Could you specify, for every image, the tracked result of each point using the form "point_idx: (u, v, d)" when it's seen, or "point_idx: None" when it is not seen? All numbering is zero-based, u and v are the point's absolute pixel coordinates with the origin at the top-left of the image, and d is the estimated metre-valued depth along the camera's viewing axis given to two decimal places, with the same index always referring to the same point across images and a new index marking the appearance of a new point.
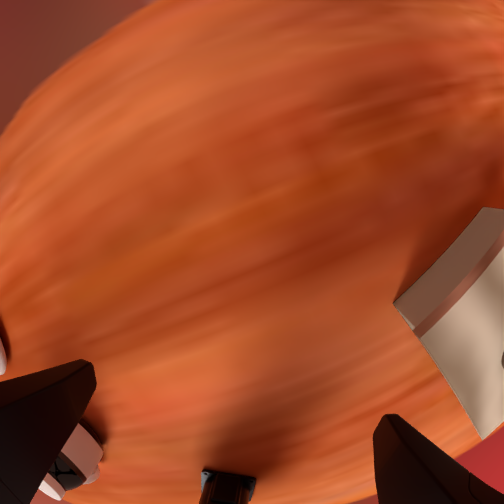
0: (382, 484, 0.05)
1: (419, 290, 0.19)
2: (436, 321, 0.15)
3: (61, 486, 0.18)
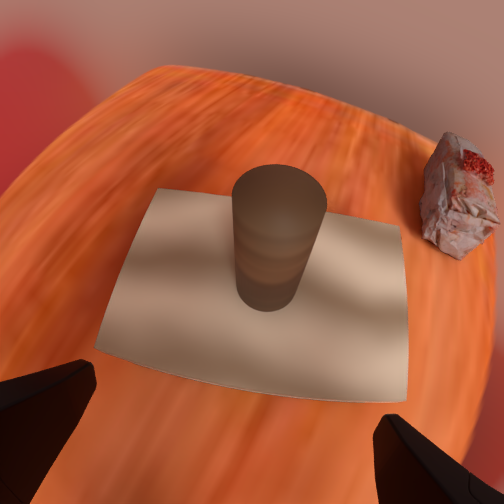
0: (382, 484, 0.05)
1: None
2: (102, 325, 0.15)
3: None
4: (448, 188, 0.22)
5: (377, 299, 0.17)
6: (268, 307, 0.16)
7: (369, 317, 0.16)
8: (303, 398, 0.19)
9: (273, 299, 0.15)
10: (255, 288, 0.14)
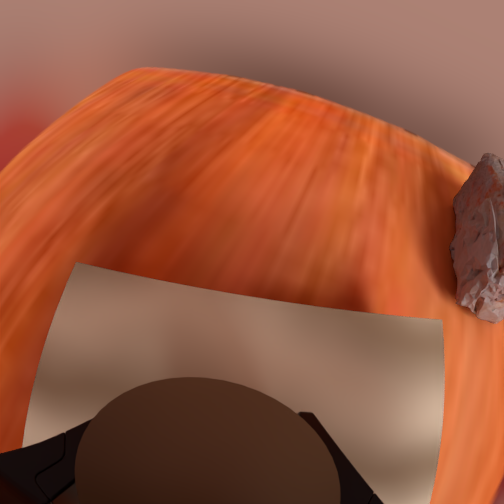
0: None
1: None
2: None
3: None
4: (500, 241, 0.14)
5: (400, 451, 0.08)
6: None
7: (384, 479, 0.08)
8: None
9: None
10: None
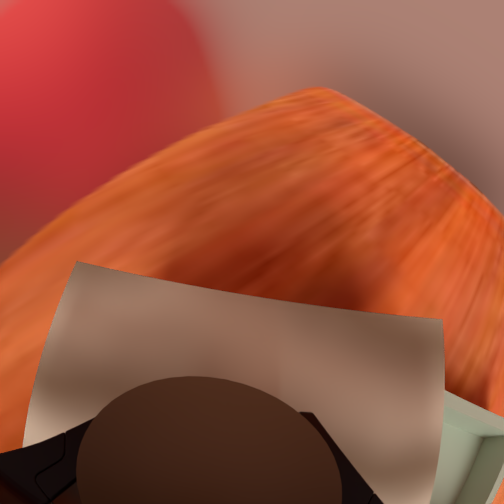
0: None
1: None
2: None
3: None
4: None
5: (400, 451, 0.08)
6: None
7: (384, 478, 0.08)
8: None
9: None
10: None
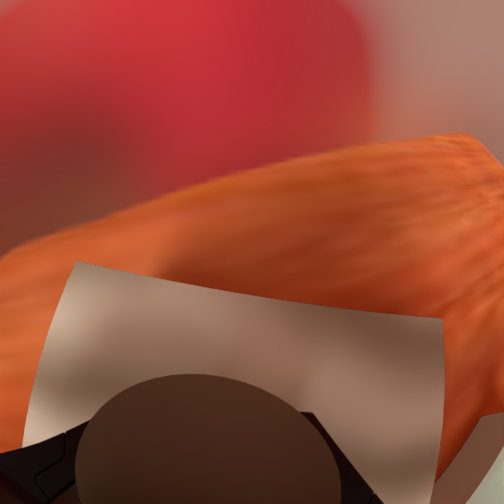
0: None
1: None
2: None
3: None
4: None
5: (400, 450, 0.08)
6: None
7: (384, 478, 0.08)
8: None
9: None
10: None
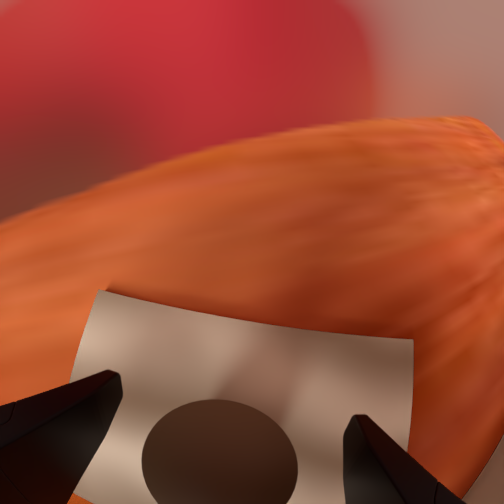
0: (349, 487, 0.05)
1: None
2: None
3: None
4: None
5: None
6: None
7: None
8: None
9: None
10: None
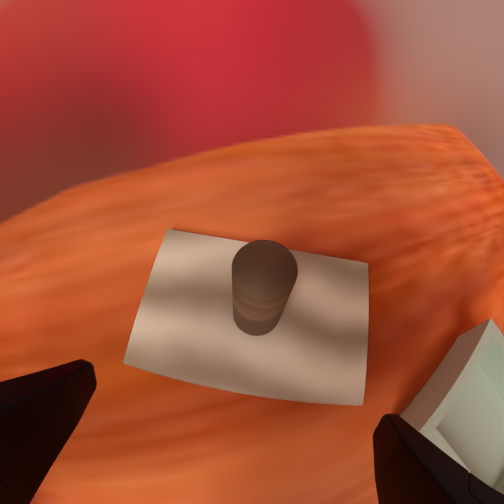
0: (382, 484, 0.05)
1: (411, 410, 0.17)
2: None
3: None
4: None
5: (343, 326, 0.22)
6: (257, 333, 0.21)
7: (335, 340, 0.21)
8: None
9: (260, 329, 0.20)
10: (247, 322, 0.19)
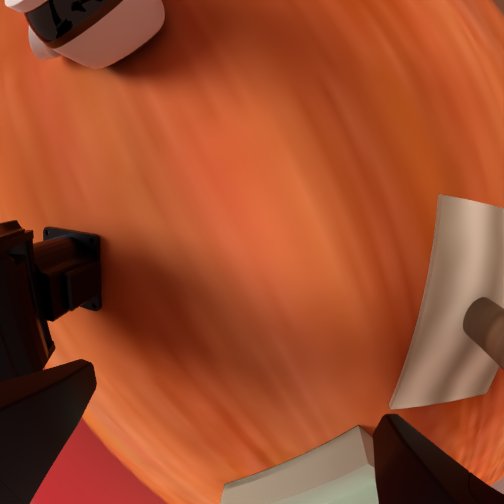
0: (382, 484, 0.05)
1: (371, 443, 0.21)
2: (456, 198, 0.17)
3: (40, 4, 0.07)
4: None
5: (453, 384, 0.20)
6: (467, 324, 0.18)
7: (445, 381, 0.20)
8: (254, 475, 0.25)
9: (474, 332, 0.17)
10: (484, 326, 0.15)
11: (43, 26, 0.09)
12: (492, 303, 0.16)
